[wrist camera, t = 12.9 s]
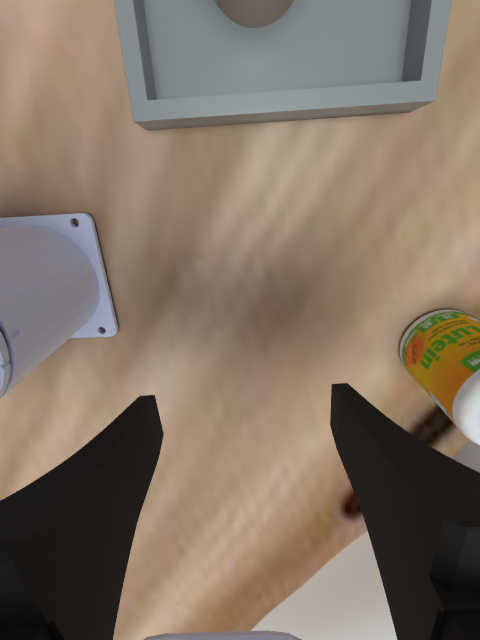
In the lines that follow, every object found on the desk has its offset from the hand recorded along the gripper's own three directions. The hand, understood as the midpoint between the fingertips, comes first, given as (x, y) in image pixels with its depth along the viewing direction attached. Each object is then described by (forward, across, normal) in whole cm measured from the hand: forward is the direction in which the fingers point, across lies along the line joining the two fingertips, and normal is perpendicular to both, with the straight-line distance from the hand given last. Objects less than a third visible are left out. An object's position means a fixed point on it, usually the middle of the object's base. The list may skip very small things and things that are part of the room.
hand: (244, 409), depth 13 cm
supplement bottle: (+10, -13, +3) cm, 17 cm away
